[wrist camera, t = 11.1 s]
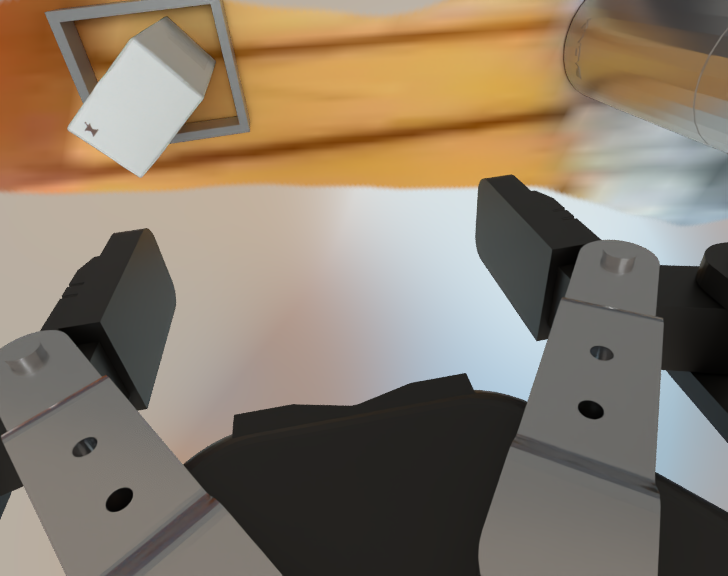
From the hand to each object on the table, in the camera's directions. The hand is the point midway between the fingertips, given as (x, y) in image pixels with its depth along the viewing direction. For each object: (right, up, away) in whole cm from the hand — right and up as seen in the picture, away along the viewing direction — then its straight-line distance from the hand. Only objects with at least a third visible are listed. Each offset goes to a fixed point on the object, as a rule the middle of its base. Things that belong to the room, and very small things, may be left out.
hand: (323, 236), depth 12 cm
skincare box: (-13, +14, +22) cm, 30 cm away
